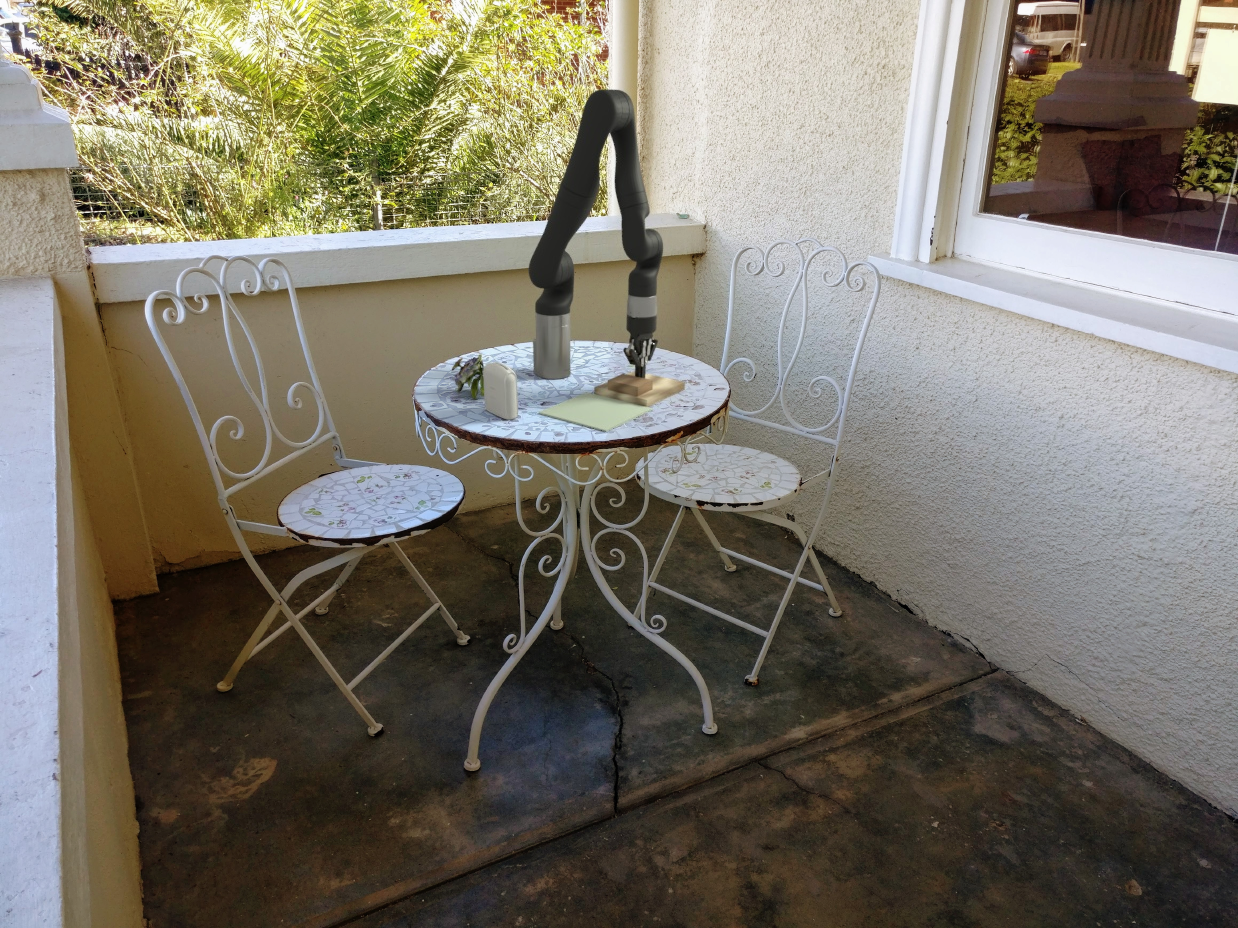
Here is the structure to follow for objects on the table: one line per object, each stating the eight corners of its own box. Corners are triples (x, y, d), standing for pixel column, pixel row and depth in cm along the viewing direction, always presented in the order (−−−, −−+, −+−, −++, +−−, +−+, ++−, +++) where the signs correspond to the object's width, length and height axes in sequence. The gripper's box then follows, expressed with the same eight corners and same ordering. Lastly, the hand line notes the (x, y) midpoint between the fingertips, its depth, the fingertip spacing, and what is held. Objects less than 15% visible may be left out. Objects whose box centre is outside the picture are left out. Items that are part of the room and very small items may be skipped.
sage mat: (538, 413, 211) (538, 412, 211) (586, 393, 226) (586, 392, 226) (606, 432, 201) (606, 430, 201) (652, 409, 215) (652, 408, 215)
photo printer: (482, 409, 213) (480, 360, 208) (497, 406, 216) (495, 357, 211) (505, 421, 206) (503, 370, 201) (520, 418, 208) (519, 367, 204)
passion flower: (461, 412, 227) (448, 369, 229) (502, 401, 229) (489, 358, 231) (460, 400, 216) (447, 355, 218) (503, 389, 218) (489, 344, 220)
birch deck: (594, 394, 225) (594, 387, 224) (633, 378, 239) (634, 370, 238) (646, 407, 217) (646, 400, 216) (684, 389, 230) (685, 382, 229)
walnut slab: (607, 389, 223) (607, 380, 222) (622, 382, 228) (623, 373, 227) (637, 396, 218) (637, 387, 217) (652, 389, 223) (652, 380, 222)
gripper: (643, 305, 226) (641, 370, 233) (614, 315, 216) (613, 382, 223) (668, 309, 223) (666, 375, 229) (639, 319, 212) (638, 388, 219)
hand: (640, 379), depth 226 cm, fingers closed
